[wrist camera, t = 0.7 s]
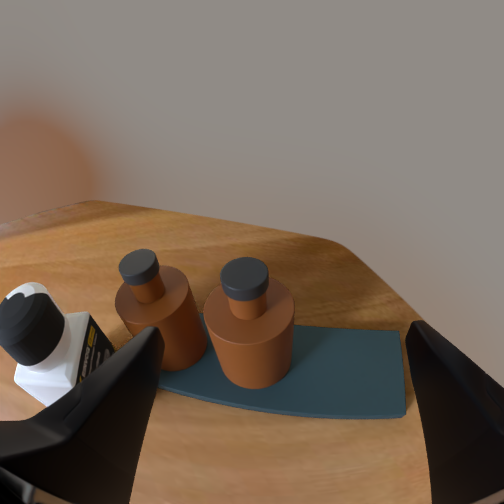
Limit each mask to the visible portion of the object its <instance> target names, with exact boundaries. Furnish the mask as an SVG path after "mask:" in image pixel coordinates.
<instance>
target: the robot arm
mask: <svg viewBox="0 0 504 504" xmlns="http://www.w3.org/2000/svg"><path fill="white" fill-rule="evenodd" d="M405 343H406V349H407V354H408V360H409V366H410V373H411V378H412V383H413V387H414V391H415V395H416V399H417V403H418V408H419V413H420V417H421V422H422V427H423V433H424V438H425V444H426V451H427V457H428V465H429V474H430V484H431V496H432V504H504V388H503V387H502V386H501V385H499V384H498V383H497V382H496V381H495V380H494V379H492V378H491V377H490V376H489V375H488V374H486V373H485V372H484V371H483V370H482V369H481V368H480V367H479V366H478V365H476V364H475V363H474V362H473V361H472V360H471V359H470V358H468V357H467V356H466V355H465V354H464V353H462V352H461V351H460V350H459V349H458V348H457V347H455V346H454V345H453V344H452V343H450V342H449V341H448V340H447V339H445V338H444V337H443V336H442V335H441V334H440V333H438V332H437V331H436V330H435V329H433V328H432V327H431V326H430V325H428V324H427V323H426V322H425V321H423V320H418V321H413V322H412V323H411V325H410V328H409V330H408V333H407V335H406V339H405ZM164 350H165V342H164V339H163V337H162V334H161V332H160V330H159V328H158V327H155V326H147V327H145V328H144V329H143V330H142V331H141V332H139V333H138V334H137V335H136V336H135V337H133V338H132V339H131V340H130V341H129V342H127V343H126V344H125V345H124V346H123V347H121V348H120V349H119V350H118V351H117V352H115V353H114V354H113V355H112V356H111V357H109V358H108V359H107V360H106V361H105V362H103V363H102V364H101V365H100V366H99V367H97V368H96V369H95V370H94V371H93V372H91V373H90V374H89V375H88V376H87V377H85V378H84V379H83V380H82V381H81V382H79V383H78V384H77V385H76V386H75V387H74V388H72V389H71V390H70V391H69V392H67V393H66V394H65V395H63V396H62V397H61V398H59V399H58V400H57V401H55V402H54V403H52V404H51V405H49V406H48V407H46V408H45V409H44V410H42V411H41V412H39V413H38V414H36V415H35V416H33V417H31V418H29V419H26V420H21V421H0V504H129V502H130V497H131V492H132V487H133V483H134V478H135V477H134V476H135V473H136V469H137V464H138V460H139V456H140V452H141V448H142V444H143V440H144V436H145V432H146V428H147V424H148V420H149V417H150V413H151V409H152V406H153V402H154V398H155V395H156V391H157V388H158V384H159V379H160V373H161V367H162V361H163V356H164Z"/></svg>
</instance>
